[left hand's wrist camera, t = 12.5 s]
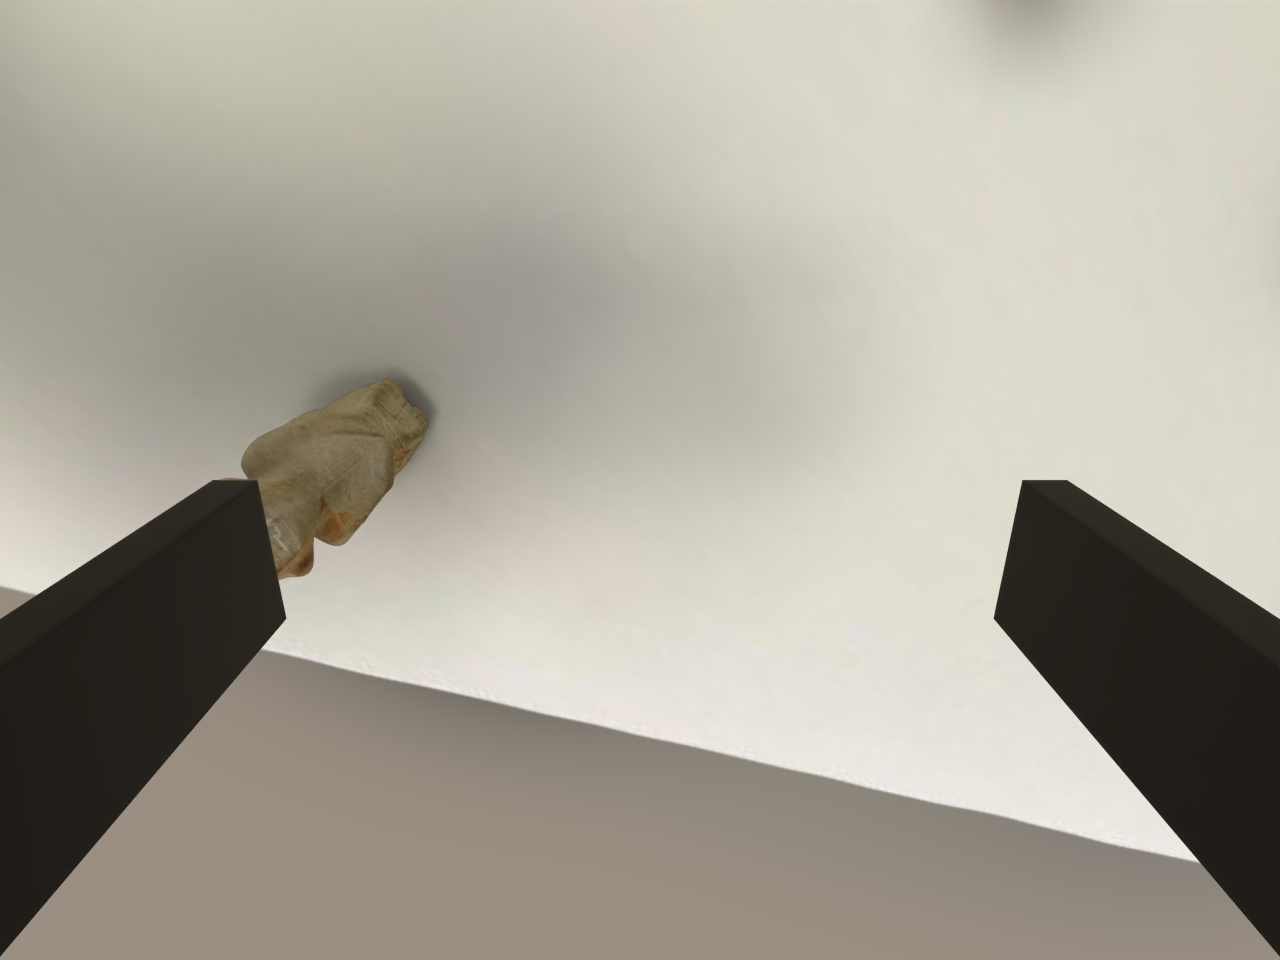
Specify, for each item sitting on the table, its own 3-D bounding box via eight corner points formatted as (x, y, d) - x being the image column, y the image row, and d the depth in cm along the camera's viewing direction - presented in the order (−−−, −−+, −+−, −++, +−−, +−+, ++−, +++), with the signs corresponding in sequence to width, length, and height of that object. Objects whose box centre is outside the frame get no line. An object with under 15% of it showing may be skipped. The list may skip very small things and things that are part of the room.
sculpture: (293, 422, 40) (107, 541, 26) (390, 348, 39) (248, 433, 25) (365, 501, 42) (226, 652, 28) (459, 434, 40) (364, 557, 26)
